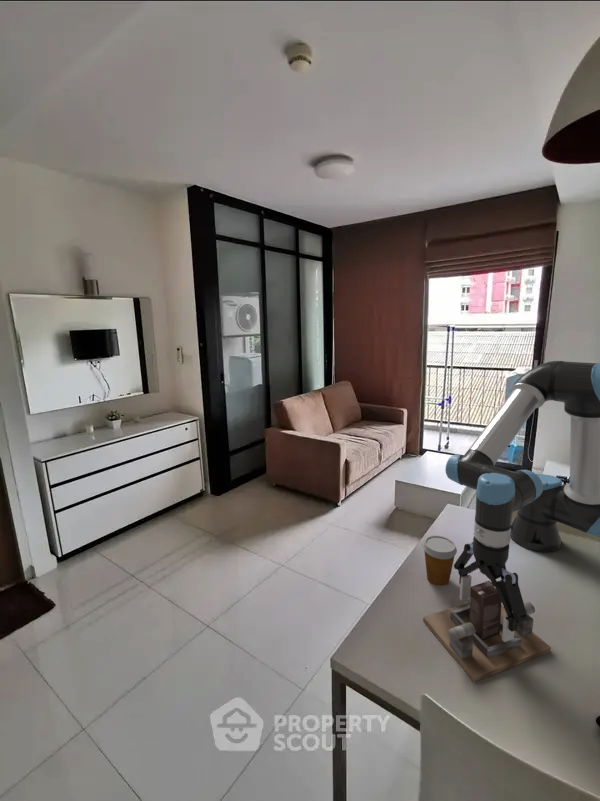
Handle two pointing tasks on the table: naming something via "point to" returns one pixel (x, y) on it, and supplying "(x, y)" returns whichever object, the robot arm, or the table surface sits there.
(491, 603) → the box
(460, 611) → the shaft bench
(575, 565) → the table surface
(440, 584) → the disposable coffee cup
